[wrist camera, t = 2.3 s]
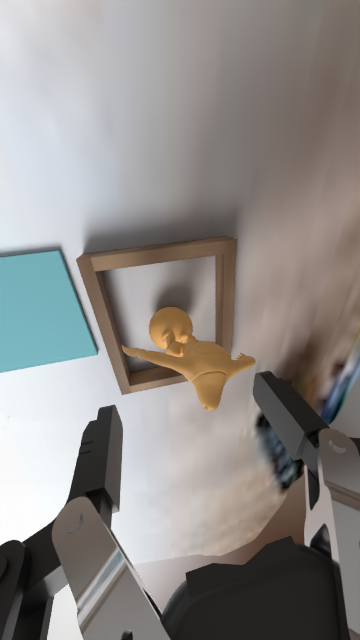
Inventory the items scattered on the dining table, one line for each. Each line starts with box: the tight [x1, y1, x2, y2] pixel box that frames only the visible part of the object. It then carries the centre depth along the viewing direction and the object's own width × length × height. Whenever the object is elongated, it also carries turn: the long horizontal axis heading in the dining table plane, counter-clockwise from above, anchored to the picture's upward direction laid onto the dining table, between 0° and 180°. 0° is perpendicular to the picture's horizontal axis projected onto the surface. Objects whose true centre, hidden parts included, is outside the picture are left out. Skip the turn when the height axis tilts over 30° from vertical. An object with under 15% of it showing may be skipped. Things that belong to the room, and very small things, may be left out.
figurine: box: [122, 307, 255, 411], centre depth 14 cm, size 8×6×12 cm
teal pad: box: [0, 250, 98, 373], centre depth 17 cm, size 10×10×1 cm
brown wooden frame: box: [76, 236, 237, 395], centre depth 19 cm, size 12×14×2 cm
